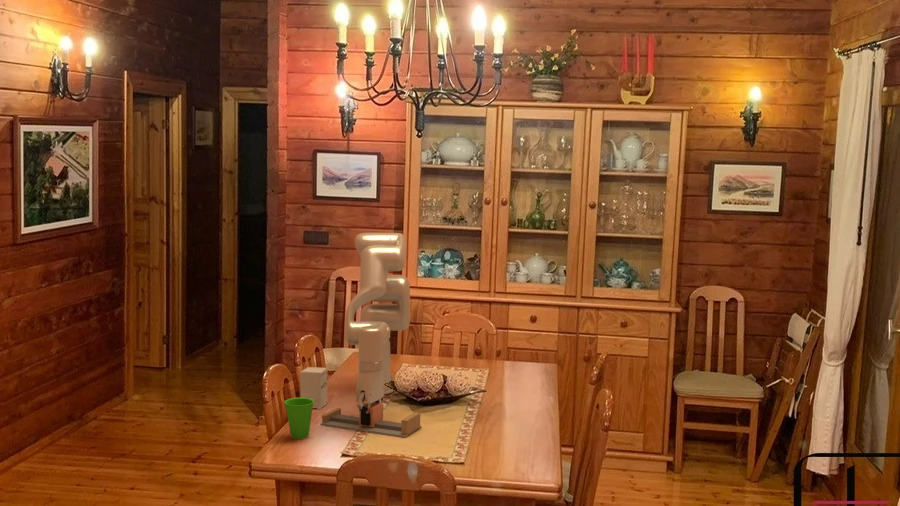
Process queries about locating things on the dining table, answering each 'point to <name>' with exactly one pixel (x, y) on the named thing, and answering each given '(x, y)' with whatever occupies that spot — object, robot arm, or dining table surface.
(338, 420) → the track
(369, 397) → the robot arm
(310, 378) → the supplement box
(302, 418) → the cup
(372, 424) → the orange cube
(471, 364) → the dining table surface
